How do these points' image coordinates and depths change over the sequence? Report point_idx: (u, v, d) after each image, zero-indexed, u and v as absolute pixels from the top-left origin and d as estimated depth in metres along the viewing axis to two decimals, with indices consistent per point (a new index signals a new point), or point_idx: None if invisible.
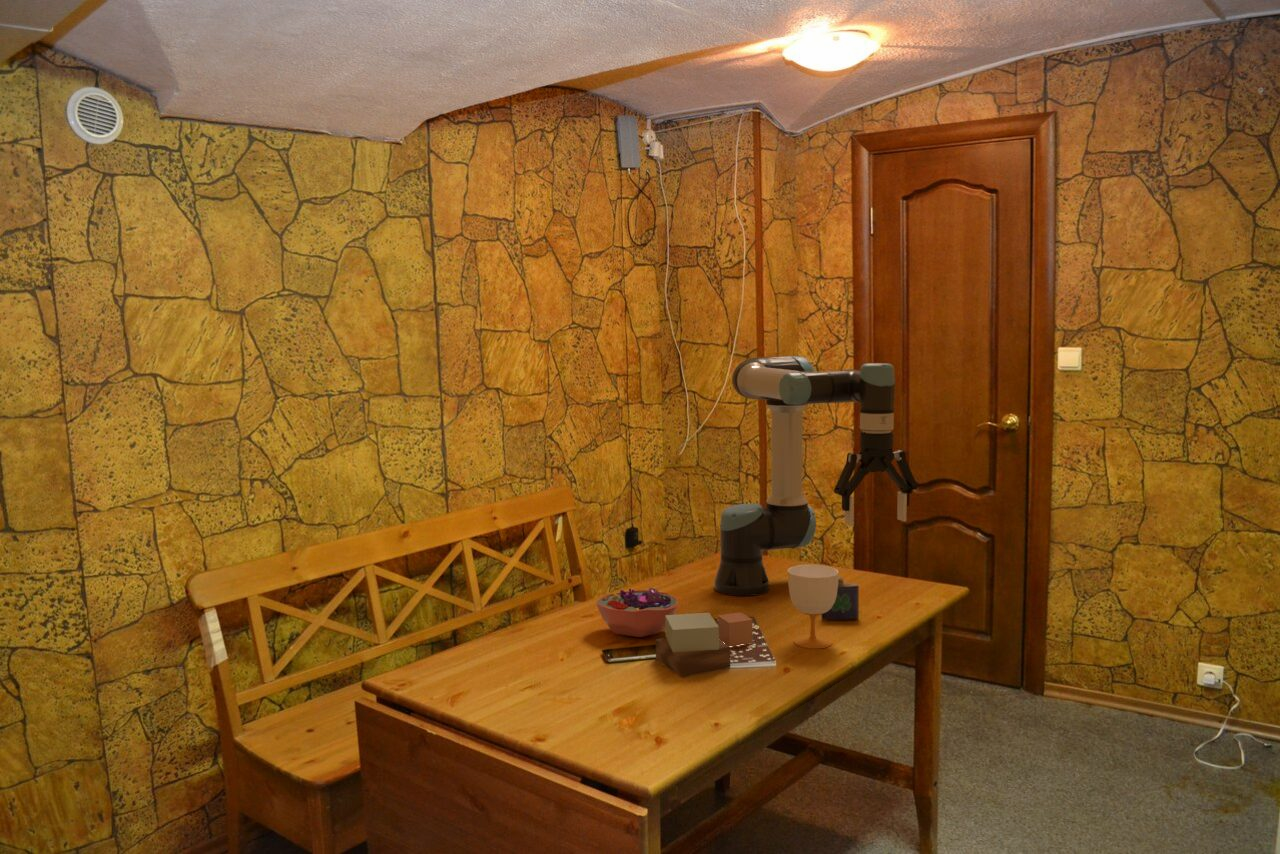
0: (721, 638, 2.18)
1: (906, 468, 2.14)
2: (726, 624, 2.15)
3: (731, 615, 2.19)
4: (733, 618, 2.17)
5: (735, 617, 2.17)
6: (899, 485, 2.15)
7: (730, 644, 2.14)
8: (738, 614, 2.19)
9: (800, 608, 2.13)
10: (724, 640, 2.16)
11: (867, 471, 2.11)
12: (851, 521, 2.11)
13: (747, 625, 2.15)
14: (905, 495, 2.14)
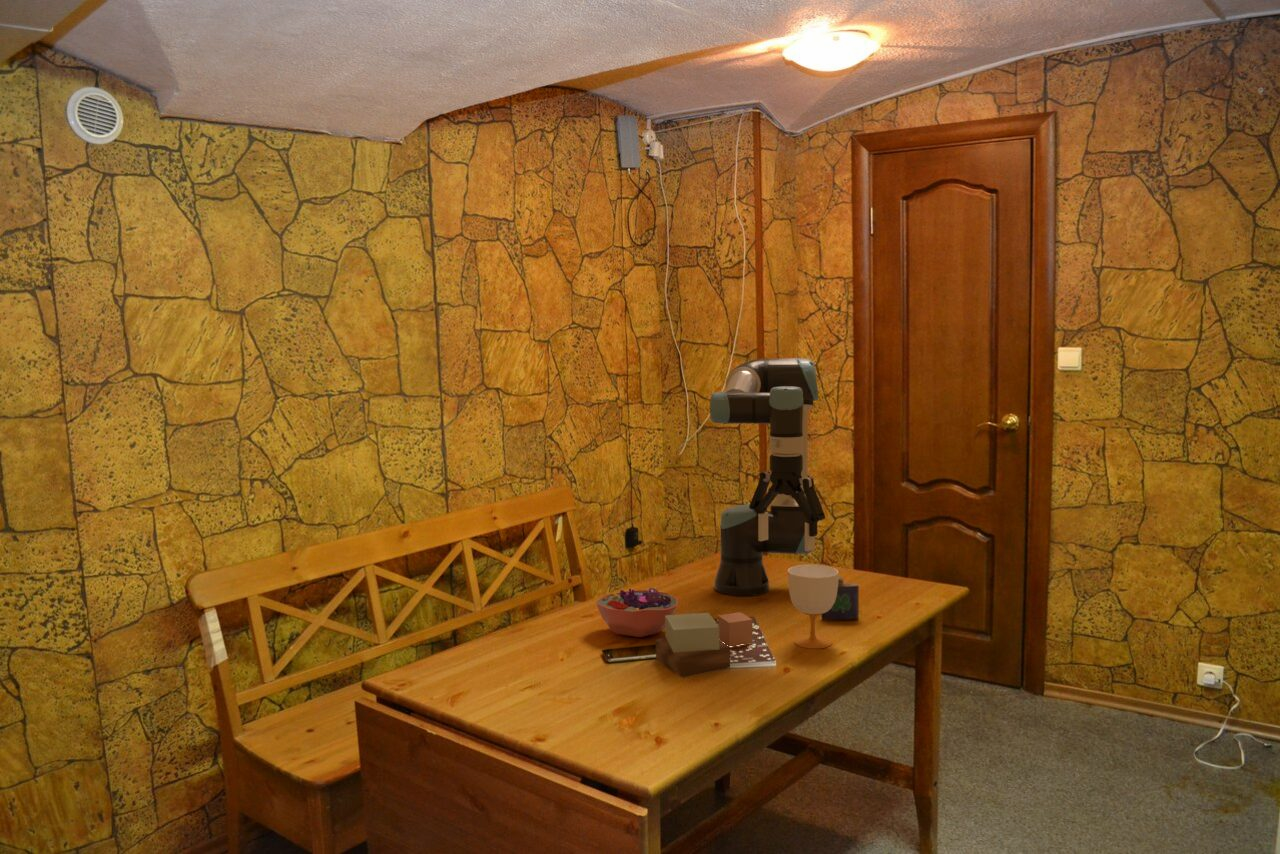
0: (721, 638, 2.18)
1: (807, 497, 2.08)
2: (726, 624, 2.15)
3: (731, 615, 2.19)
4: (733, 618, 2.17)
5: (735, 617, 2.17)
6: None
7: (730, 644, 2.14)
8: (738, 614, 2.19)
9: (800, 608, 2.13)
10: (724, 640, 2.16)
11: (770, 491, 2.15)
12: (759, 536, 2.19)
13: (747, 625, 2.15)
14: (806, 524, 2.09)
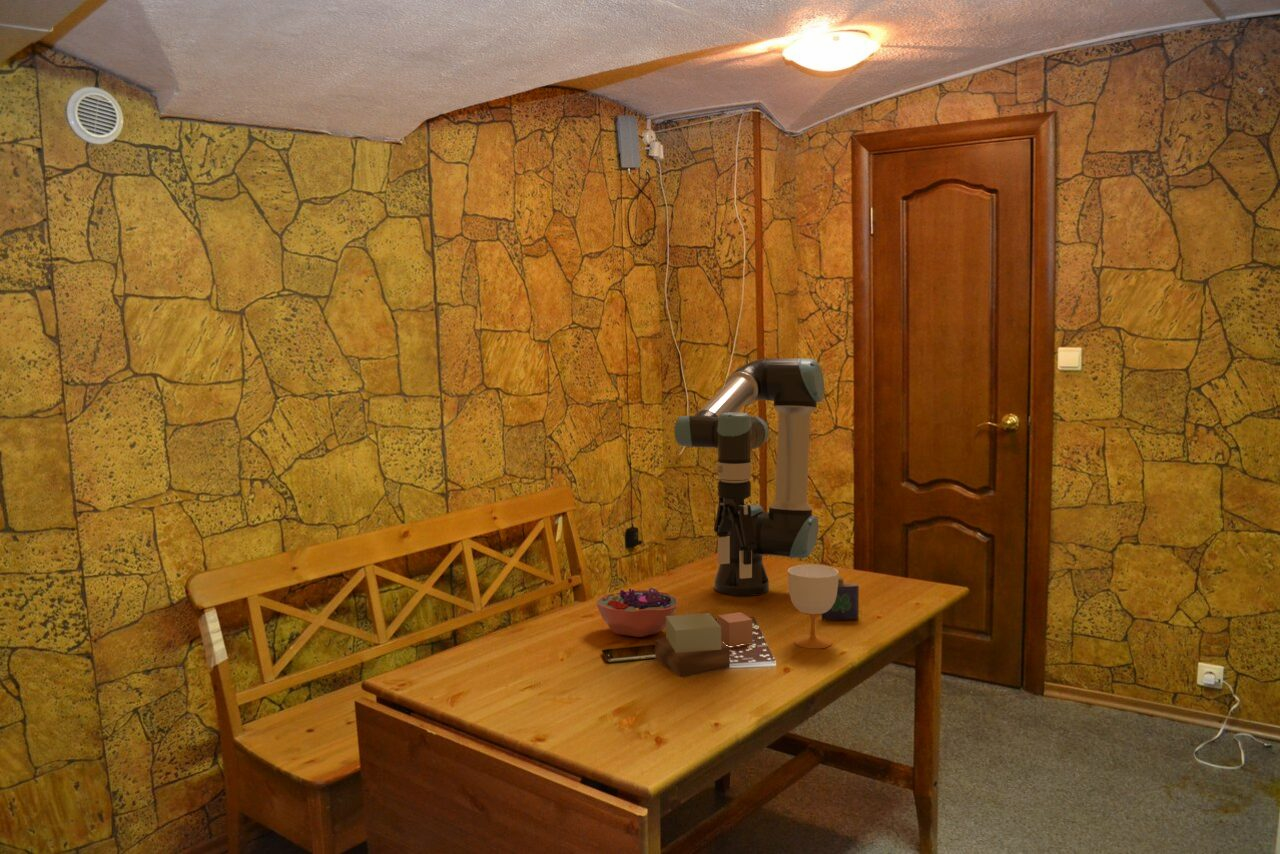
0: (721, 638, 2.18)
1: (741, 524, 2.07)
2: (726, 624, 2.15)
3: (731, 615, 2.19)
4: (733, 618, 2.17)
5: (735, 617, 2.17)
6: None
7: (730, 644, 2.14)
8: (738, 614, 2.19)
9: (800, 608, 2.13)
10: (724, 640, 2.16)
11: (722, 515, 2.17)
12: (718, 559, 2.22)
13: (747, 625, 2.15)
14: (740, 551, 2.08)
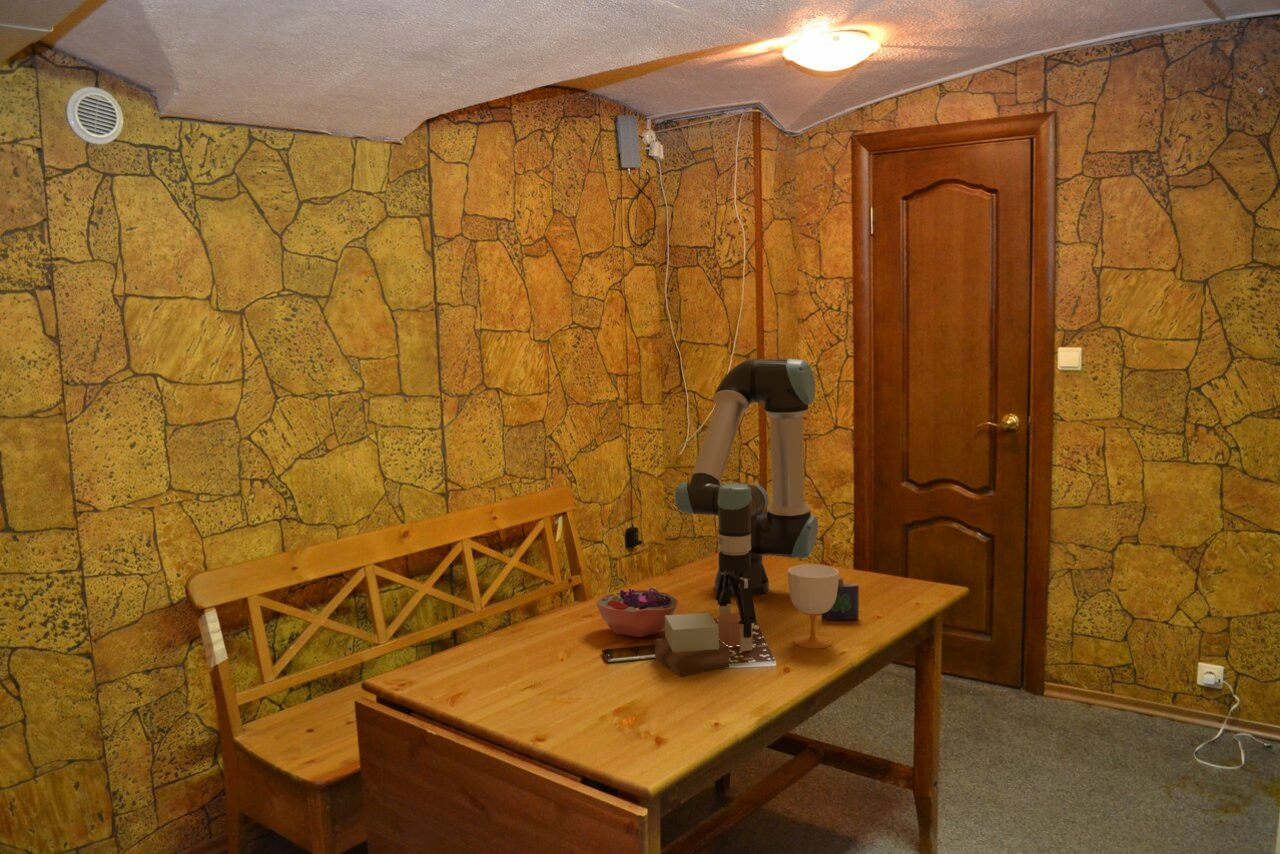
0: (721, 638, 2.18)
1: (741, 598, 2.09)
2: (726, 624, 2.15)
3: (731, 615, 2.19)
4: (733, 618, 2.17)
5: (735, 617, 2.17)
6: None
7: (730, 644, 2.14)
8: (738, 614, 2.19)
9: (800, 608, 2.13)
10: (724, 640, 2.16)
11: (723, 586, 2.19)
12: None
13: None
14: (740, 624, 2.10)
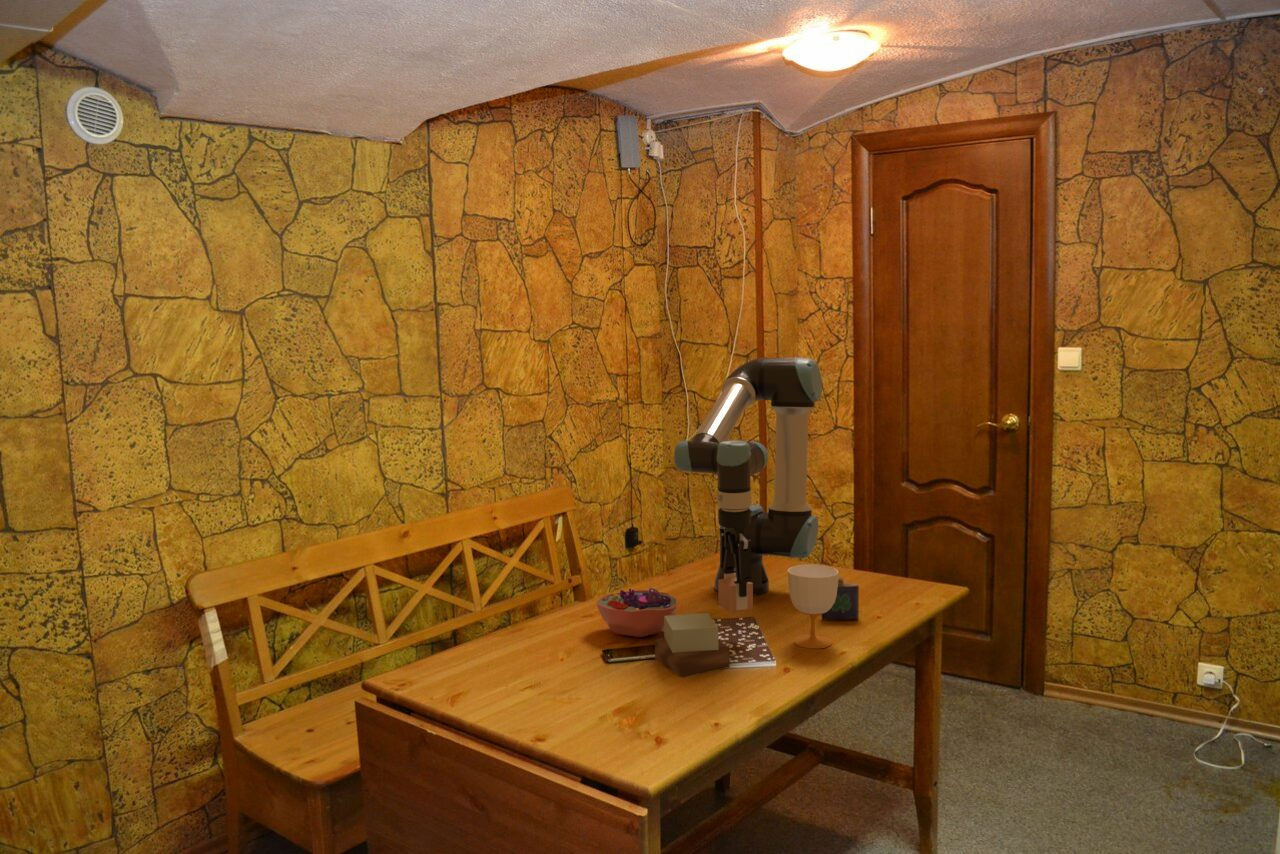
0: (721, 602, 2.17)
1: (739, 557, 2.10)
2: (726, 588, 2.14)
3: (731, 579, 2.18)
4: (733, 582, 2.16)
5: None
6: None
7: (730, 608, 2.14)
8: None
9: (800, 608, 2.13)
10: (724, 604, 2.16)
11: (724, 546, 2.17)
12: None
13: (748, 589, 2.15)
14: (735, 584, 2.13)
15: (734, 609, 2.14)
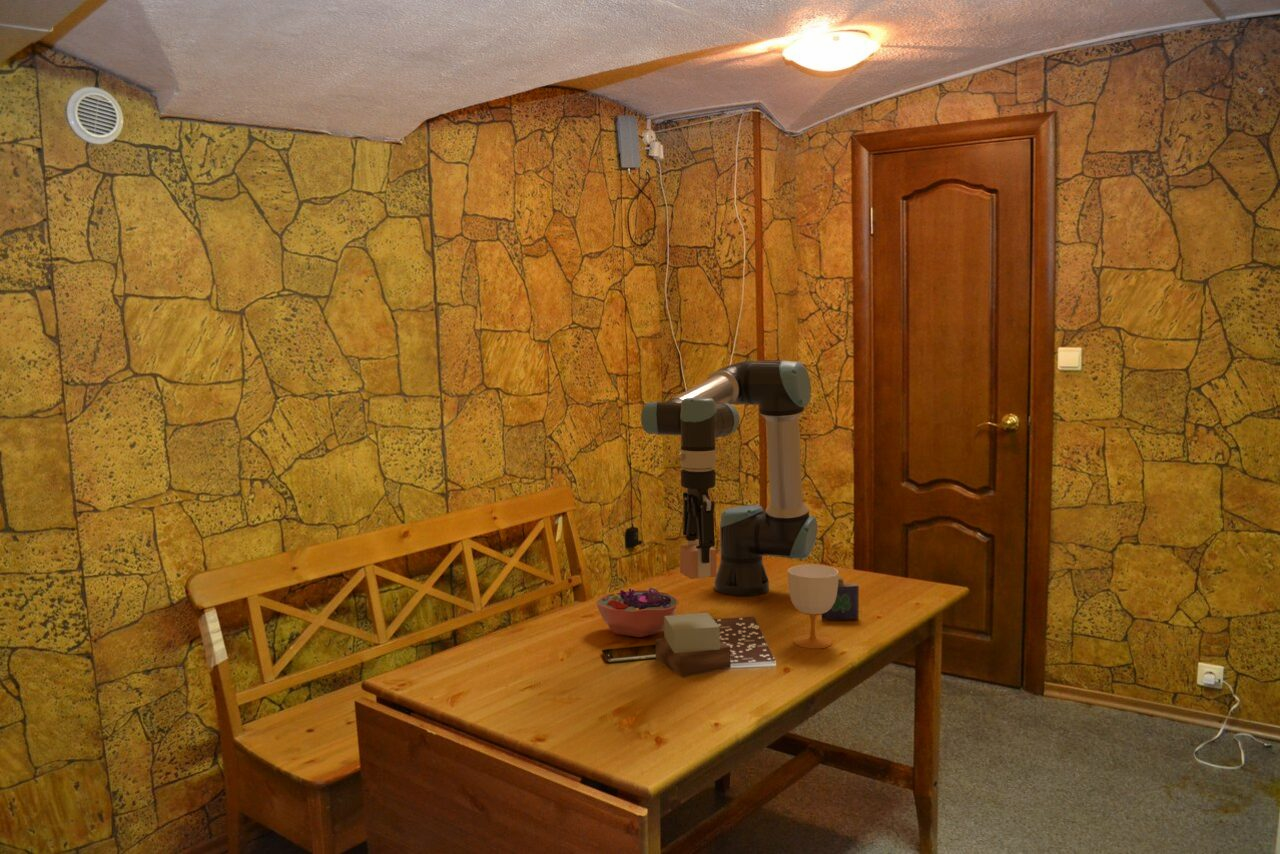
0: (683, 570, 2.04)
1: (702, 520, 1.97)
2: (688, 553, 2.01)
3: (694, 546, 2.05)
4: (696, 548, 2.03)
5: None
6: None
7: (692, 575, 2.00)
8: None
9: (800, 608, 2.13)
10: (686, 571, 2.02)
11: (687, 510, 2.04)
12: None
13: (711, 555, 2.01)
14: (698, 549, 2.00)
15: (696, 576, 2.01)
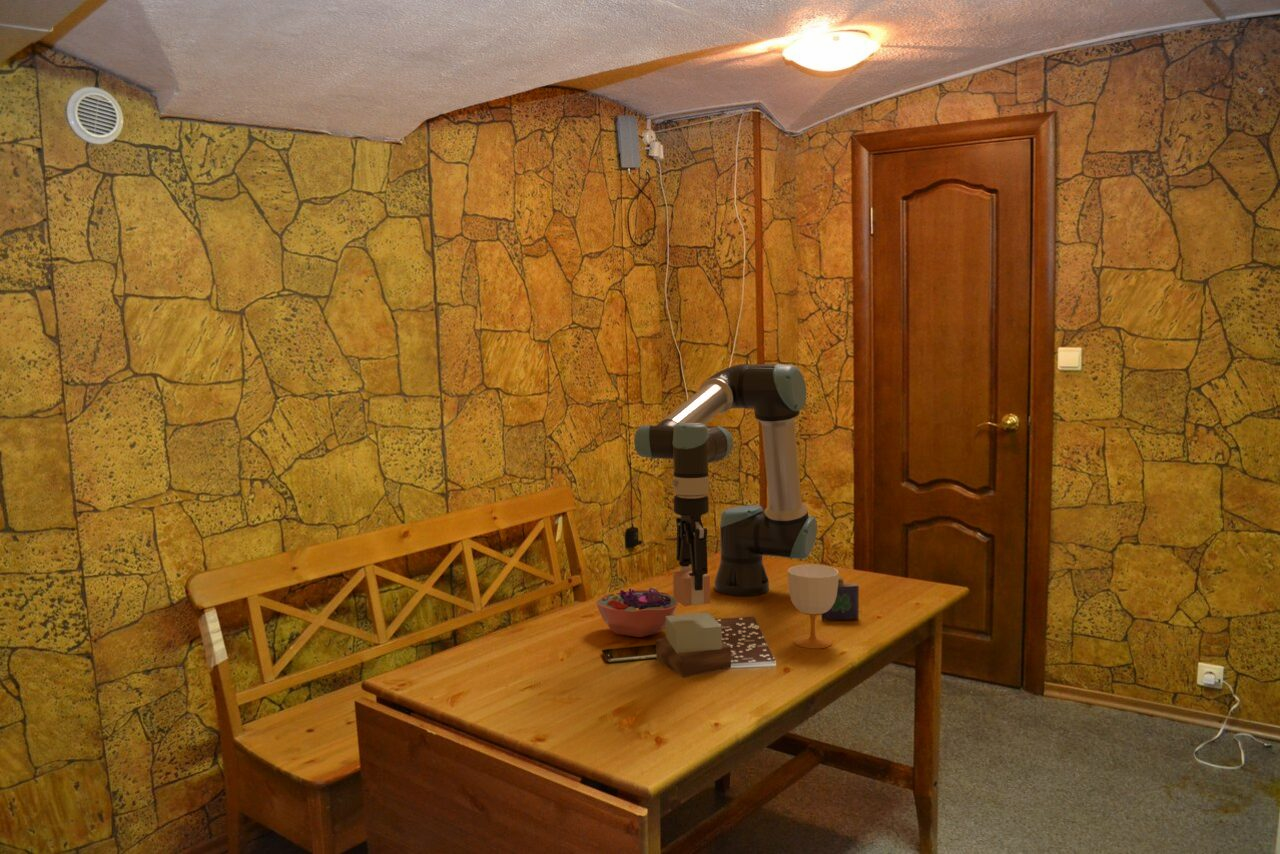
0: (676, 596, 2.03)
1: (694, 547, 1.96)
2: (681, 580, 2.00)
3: (687, 572, 2.04)
4: None
5: None
6: None
7: (685, 602, 1.99)
8: None
9: (800, 608, 2.13)
10: (679, 598, 2.01)
11: (680, 536, 2.03)
12: None
13: (704, 582, 2.00)
14: (691, 576, 1.98)
15: (689, 603, 1.99)
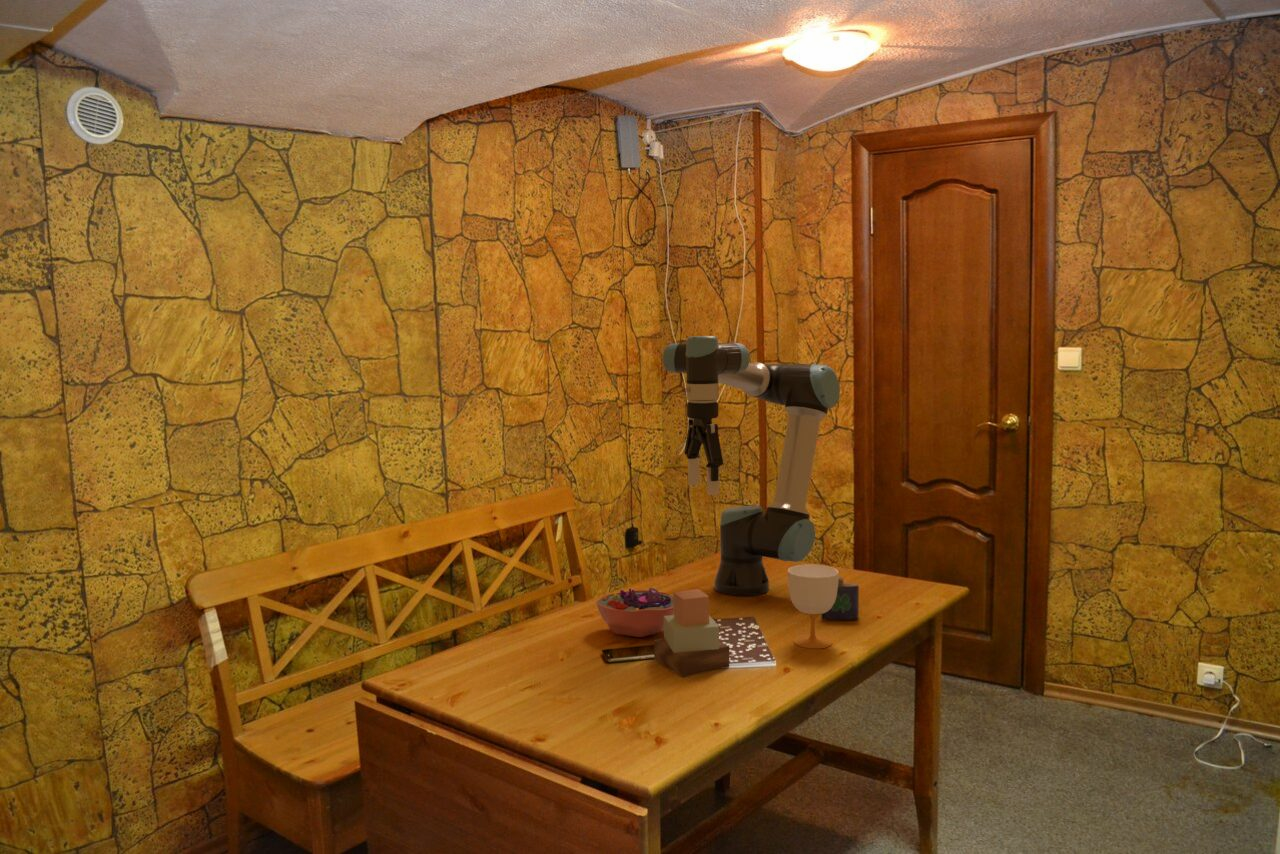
0: (676, 616, 2.04)
1: (708, 442, 2.14)
2: (680, 600, 2.01)
3: (687, 592, 2.05)
4: (689, 594, 2.03)
5: (691, 593, 2.03)
6: None
7: (684, 622, 2.00)
8: (695, 591, 2.05)
9: (800, 608, 2.13)
10: (679, 618, 2.02)
11: (691, 437, 2.24)
12: (688, 481, 2.29)
13: (703, 603, 2.01)
14: (707, 468, 2.15)
15: (688, 624, 2.00)
